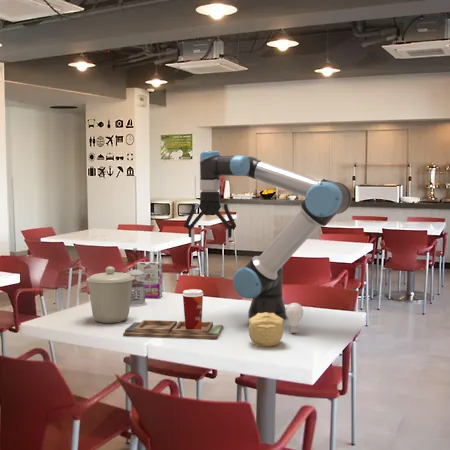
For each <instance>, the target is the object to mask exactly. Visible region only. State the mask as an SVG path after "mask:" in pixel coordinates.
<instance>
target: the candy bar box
mask: <svg viewBox="0 0 450 450" xmlns="http://www.w3.org/2000/svg"><path fill="white" fill-rule="evenodd" d="M135 265H136V270H140V271H142V272H144V275H140V276H136V281H142V282H144V283H143V284H140V285H144V292H147V291H148V289H149V283H150V282H151V288H150V290H149V291H148V292H147V293H145V299H161V298H162V297H163V269H162V262H159V261H138V262H135ZM145 276H146V277H147V279H148V278H149V279H148V280H150V281H149V282H148V280H147V279H146V277H145ZM143 277H145V280H143ZM138 291H139V290H137V292H138ZM138 294H139V293H137V295H138ZM137 297H139V296H137Z"/></svg>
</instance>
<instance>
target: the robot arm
mask: <svg viewBox="0 0 450 450" xmlns="http://www.w3.org/2000/svg"><path fill="white" fill-rule="evenodd" d="M220 154H221V153H220V151H218V150H202V151H201V152H200V155H199V168H200V169H199V173H200V174H199V175H200V178H199V183H200V184H199V191H201V192H199V194H200V195H199V197H200V200H199V201H200V202H199V204H198V203H197V204H196V203H192V204H191V209H190V212H189V215H187V218H186V219H185V222H184V224H183V228H186V229H188V237H189V238H190V240H191V241H190V242H191V243H190V245H191V247H194V246H195V228H194V227H195V225H197V223H198V222H199V221H200V219H201V218H202V217H203V216H215V215H216V217H218V219H219V220H220V221H221V222H222V223H223V224H224V226H225V227H226V228H227V229H225V247H229V246H230V239H231V238H232V235H233V234H232V231H233V229H235V228H236V227H237V224H236V222H235V219H234V218H233V216H232V214H231V212H230V210H229V204H228V203H223V204H221V202H220V201H221V199H220V198H221V197H220V196H221V195H220V194H221V193H220V190H221V189H220V188H221V186H220V181H221V180H220V179H221V177H223V176H224V177H225V176H227V177H228V176H229V177H230V176H231V177H234V176H235V177H236V176H237V177H248V178H251V179H254V180H257V181H260V182H263V183H265V184H268V185H271V186H274V187H276V188H279V189H282V190H285V191H288V192H290V193H294V194H297V195H299V196H301V197H305V198H304V200H303V201H301V202H300V207H299V208H300V210H299V212H298V213H297V214H296V215H295V216H294V217H293V218H292V219H291V221H290V222H289V223H287V225H286V226H285V227H284V228H283V230H281V231H280V233H279V234H278V235H277V236H276V237H275V238H274V240H272V241H271V243H269V245H268V246H267V247H266V249H265V250H263V251H262V253H261V254H260V255H254V256H253V257H252V258H251V259H250V260H249V261H248V262H247V264H246V265H244V266H243V267H240V268H239V269H237V270H236V272H234V275H233V277H232V282H233V284H232V285H233V288H234V290H235V292H236V293H237V294H238V295H239V296H240V297H242V298H244V299H252V300H251V303H250V306H249V309H248V318H249V319H250V318H252V317H254V316H255V315H256V314H257V313H265V312H267V313H274V314H275V315H277V316H279V317H281V318H283V320H285V319H286V318H287V316H286V314H285V309H286V305H285V303H284V299H283V277H284V274H283V271H284V269H283V266H284V265H285V264H286V263H287V262H288V261H289V260H290V259H291V257H292V256H293V255H294V254H295V253H296V252H297V251H298V250H299V248H300V247H302V245H303V244H304V243H305V242H306V241H307V240H308V239H309V238H310V237H311V236H312V235H313V234H314V232H316V230H317V229H318V228H319V227H325V226H326V227H327V225H328V224H329V222H331V220H332V219H333V218H334V217H335V216H337V215H339V214H343V213H344V212H346V211H347V210H348V209H349V207H350V206H351V203H352V193H351V191H350V189H349V187H348V186H346V184H344V183H342V182H338V181H332V180H328V179H325V178H322V179H316V178H313V177H311V176H308V175H305V174H301V173H299V172H296V171H292V170H289V169H287V168H284V167H281V166H278V165H275V164H272V163H269V162H266V161H264V160H260V159H258V158H257V157H253V156H246V155H241V154H240V155H239V154H237V155H224V156H223V155H220ZM221 208H222V210H223V211H224V213H225V214H226V217H227V218H228V220H226V218H225V217H224V216H223V215H222V213H221V212H220V209H221ZM198 209H199V210H200V212H199V213H198V215H197V216H196V217H195V219H194V220H193V221H192V218H193V217H194V215H195V213H196V210H198ZM191 221H192V222H191ZM228 221H229V222H228ZM287 319H288V318H287Z"/></svg>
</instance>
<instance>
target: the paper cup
mask: <svg viewBox="0 0 450 450" xmlns="http://www.w3.org/2000/svg"><path fill="white" fill-rule="evenodd" d="M181 296H182V302H183V313H184V315H183V316H184V321H185V328H186V329H194V330H201V327H202V322H203V296H204V292H203V290H201V289H196V288H191V289H185V290H183V291H182V294H181Z"/></svg>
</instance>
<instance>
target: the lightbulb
mask: <svg viewBox="0 0 450 450" xmlns="http://www.w3.org/2000/svg"><path fill="white" fill-rule="evenodd" d="M285 308H286V309H285V314H286V316H287V319H288V322H289V327H290V333H291V334H293V335H295V334H297V333H298V332H299V324H300V321H301V319H302V318H303V315H304V308H303V306H302V305H301V304H300V303H298V302H291V303H288V304H287V306H285Z"/></svg>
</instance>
